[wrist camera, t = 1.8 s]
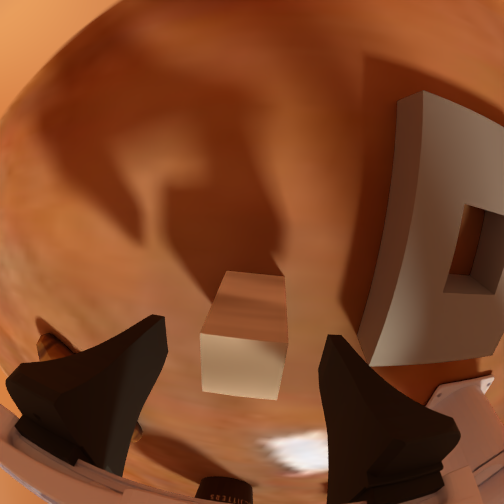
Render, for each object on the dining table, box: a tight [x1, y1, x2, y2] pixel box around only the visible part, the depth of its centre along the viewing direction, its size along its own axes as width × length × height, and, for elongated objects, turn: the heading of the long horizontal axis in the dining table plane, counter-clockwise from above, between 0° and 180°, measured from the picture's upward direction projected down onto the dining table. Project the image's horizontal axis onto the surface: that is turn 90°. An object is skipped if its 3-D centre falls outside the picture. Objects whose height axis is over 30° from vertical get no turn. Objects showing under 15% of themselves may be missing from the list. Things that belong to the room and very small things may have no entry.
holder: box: [357, 90, 504, 366], centre depth 12 cm, size 14×11×3 cm
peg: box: [200, 271, 288, 400], centre depth 13 cm, size 3×3×6 cm
